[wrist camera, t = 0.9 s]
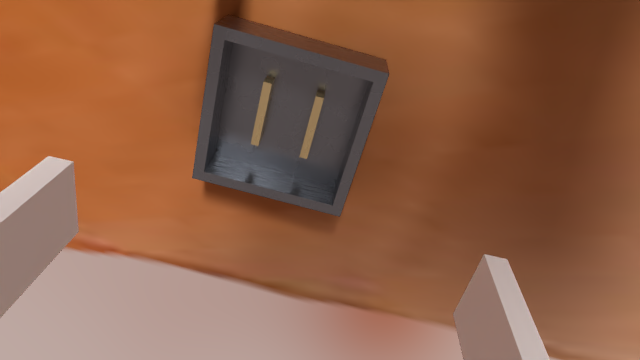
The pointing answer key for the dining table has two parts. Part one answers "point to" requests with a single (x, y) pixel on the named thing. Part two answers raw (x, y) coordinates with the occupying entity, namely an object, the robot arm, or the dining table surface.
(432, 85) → the dining table surface
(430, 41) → the dining table surface
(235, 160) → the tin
